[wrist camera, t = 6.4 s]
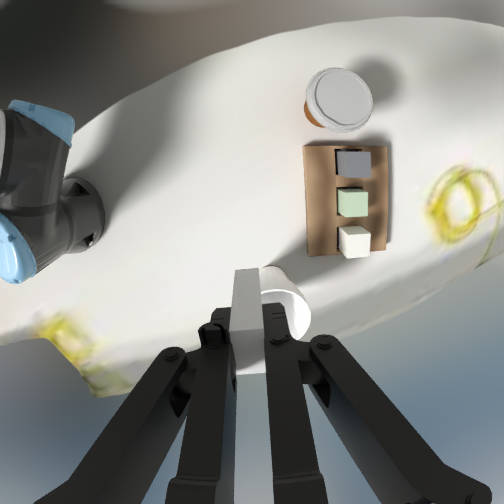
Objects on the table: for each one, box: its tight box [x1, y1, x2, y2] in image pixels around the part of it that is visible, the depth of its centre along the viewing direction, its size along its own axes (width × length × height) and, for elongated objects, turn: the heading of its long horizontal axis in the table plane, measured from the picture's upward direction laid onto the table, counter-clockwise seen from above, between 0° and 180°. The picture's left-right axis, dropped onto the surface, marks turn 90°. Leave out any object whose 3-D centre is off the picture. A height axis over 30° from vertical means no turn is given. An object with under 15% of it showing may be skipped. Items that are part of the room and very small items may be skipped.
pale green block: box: [336, 188, 368, 217], centre depth 45 cm, size 4×4×5 cm
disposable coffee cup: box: [304, 68, 373, 133], centre depth 36 cm, size 10×10×12 cm
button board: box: [303, 146, 388, 257], centre depth 46 cm, size 15×19×2 cm
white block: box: [339, 226, 371, 259], centre depth 45 cm, size 4×4×5 cm
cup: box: [259, 266, 311, 340], centre depth 46 cm, size 10×10×14 cm
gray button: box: [337, 152, 371, 178], centre depth 41 cm, size 4×4×5 cm
